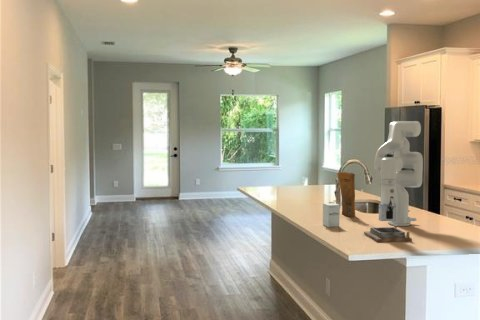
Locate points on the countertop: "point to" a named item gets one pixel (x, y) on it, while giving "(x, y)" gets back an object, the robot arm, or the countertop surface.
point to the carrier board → (387, 234)
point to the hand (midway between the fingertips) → (387, 217)
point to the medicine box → (383, 212)
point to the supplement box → (331, 214)
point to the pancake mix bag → (347, 193)
